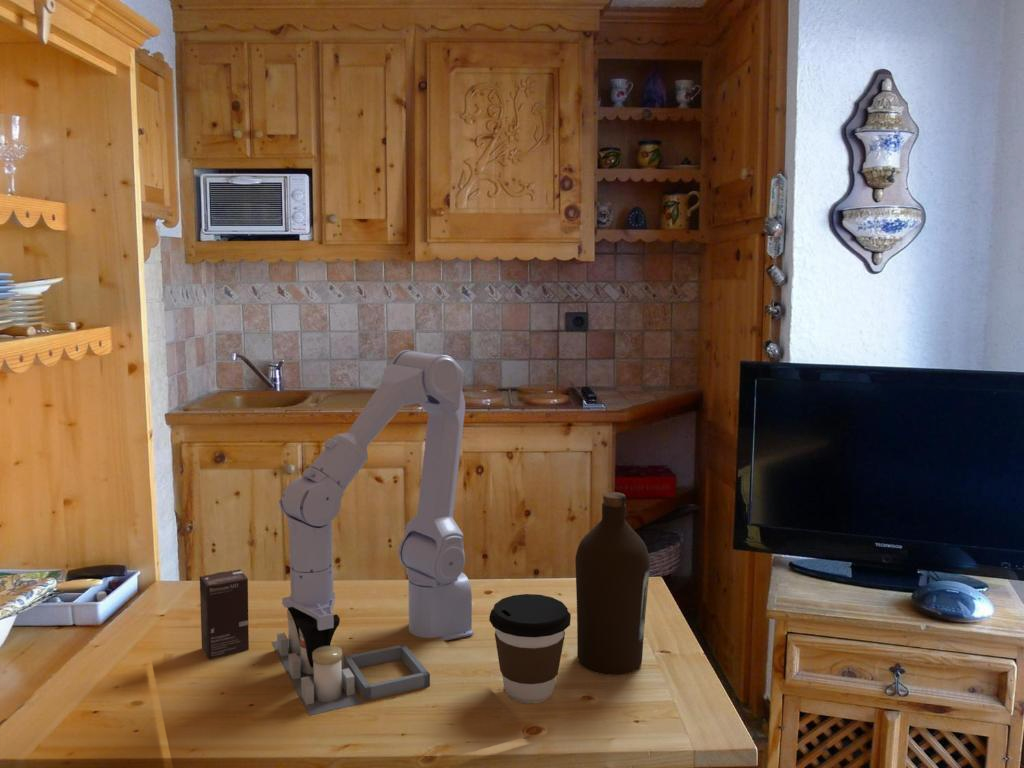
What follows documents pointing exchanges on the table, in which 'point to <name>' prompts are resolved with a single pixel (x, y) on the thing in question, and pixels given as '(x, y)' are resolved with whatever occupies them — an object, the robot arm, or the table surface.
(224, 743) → the table surface
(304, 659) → the cylinder
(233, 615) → the box
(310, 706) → the holder
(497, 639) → the coffee cup
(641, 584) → the olive oil
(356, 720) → the table surface
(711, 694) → the table surface
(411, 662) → the tray
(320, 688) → the cylinder
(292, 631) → the beige capped white cylinder
